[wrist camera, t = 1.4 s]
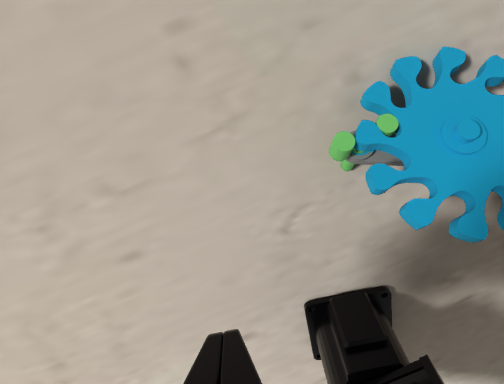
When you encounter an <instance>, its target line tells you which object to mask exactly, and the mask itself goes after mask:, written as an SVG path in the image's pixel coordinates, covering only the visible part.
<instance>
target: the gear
mask: <svg viewBox="0 0 504 384" xmlns="http://www.w3.org/2000/svg"><path fill="white" fill-rule="evenodd" d="M465 59H466V54H465V52H464V51H462V50H459V49H456V48H451V47H442V48H441V50H440V51H439V53H438V54H437V56H436V57H435V59H434V60H433V68H434V71H435V82H434V85H433V88H431V89H425V88H422V87H420V86H419V85H418V84H417V82H416V77H417V75H418V73H419V71H420V70H421V66H422V64H421V61H420V59H419V58H418V57H414V56H411V57H405V58H401V59H398V60H396V61H395V63H394V65H393V67H392V69H391V72H390V75H391V78H392V79H393V80H394V81H395V82H396V83H397V84H398V85H399V86H400V88H401V89H402V91H403V93H404V96H405V103H406V108H399V107H396V106H395V105H393V103H392V102H391V95H390V89H389V87H388V86H387V85H386V84H385V83H384V82H381V81H378V82H376V83H374V84H373V85H372V86H370V87H369V88H368V89H367V90H366V92H365V93H364V94H363V97H362V99H361V101H360V103H361V105H362V107H363V108H364V109H366V110H368V111H371V112H374V113H376V114H378V115H380V117H379V118H378V119H377V121H376V123H374V122H372V121H369V120H362V121H361V123H360V124H359V126H358V128H357V130H356V131H353V132H350V133H349V132H345V131H343V132H339V133H337V134H336V135H335V137H334V139H333V142H332V144H331V147H330V150H329V153H330V156H331V157H332V158H333V159H334V160H336V161H342V163H341V168H342V169H343V170H345V171H350V170H351V169H352V168H353V166H354V165H355V164H368V165H372V166H371V167H370V168H369V169H368V171H367V172H366V181H367V184H368V187H369V189H370V192H371V194H375V195H379V194H383V193H385V192H386V191H387V190H388V189H389V188H391V187H393V186H395V185H397V184H401V183H422V184H424V185H425V186H426V187H427V188H428V189H429V191H430V197H429V199H420V198H418V199H412V200H411V201H409V202H408V203H406V204H405V205H403V206H402V207H401V209H400V211H399V214H400V215H401V217H402V218H403V219H404V220H405V221H406V222H407V223H408V224H409V225H410V226H411V227H413V228H414V229H415V230H418V229H421V228H423V227H425V226H427V225H429V224H430V223H431V222H432V221H433V219H434V216H435V212H436V210H437V208H438V206H439V205H440V203H441V202H442V201H443V200H444V199H446V198H447V197H449V196H458V197H460V198H461V199H462V200H463V201H464V202H465V204H466V211H465V213H464V214H463V215H461V216H459V217H458V218H456V219H454V220H453V221H452V222H451V223H450V225H449V233H450V235H452V236H453V237H455V238H457V239H460V240H463V241H468V242H473V243H474V242H478V241H482V240H484V239H485V238H486V237H487V235H488V231H489V230H488V225H487V223H486V219H485V210H484V208H485V203H486V200H487V197H488V195H489V193H490V191H493V192H495V193H497V194H498V195H499V196H500V197H501V199H502V207H501V209H500V211H499V213H498V217H497V220H498V224H499V226H500V227H501V228H502V229H503V230H504V95H493V94H491V93H489V92H488V91H487V90H486V88H485V86H497V85H499V84H501V83H502V82H503V81H504V59H502V58H500V57H499V56H497V55H494V56H491V57H490V58H489V59H488V60H487V61H486V62H485V63H484V64H483V65H482V66H481V67H480V69H479V70H478V73H477V76H476V79H474V80H472V81H470V82H468V83H466V84H458V83H455V82H454V81H453V80H452V79H451V77H450V75H452V74H454V73H455V72H456V71H457V70H458V68H459V67H460V66H461V65H462V64H463V62H464V61H465ZM394 132H395V133H396V134H393V133H394ZM388 165H395V166H404V167H405V169H404V170H403V171H398V170H395V169H393V168H391V167H390V166H388Z"/></svg>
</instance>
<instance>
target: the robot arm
mask: <svg viewBox="0 0 504 384" xmlns="http://www.w3.org/2000/svg"><path fill="white" fill-rule="evenodd" d="M383 293H384V294H383ZM310 307H312V308H310ZM304 309H305V314H306V320H307V325H308V330H309V335H310V341H311V346H312V351H313V356H314V358H315V359H316V360H322V364H323V368H324V372H325V376H326V379H327V383H328V384H444V382H443V380H442V379H441V377H440V375H439V374H438V372H437V370H436V369H435V367H434V365H433V364H432V362H431V360H430V359H429V357H428V355H425V356H423V357H420V358H419V359H420V360H417V361H415V362H413V363H409V361H408V359H407V357H406V355H405V353H404V351H403V349H402V347H401V345H400V343H399V341H398V339H397V337H396V335H395V333H394V331H393V329H392V311H391V292H390V290H389V289H388V288H387V287H378V288H373V289H368V290H363V291H358V292H352V293H347V294H342V295H337V296H332V297H327V298H322V299H317V300H312V301H308V302H306V303H305V305H304ZM184 384H262V383H261V380H260V378H259V376H258V373H257V371H256V369H255V366H254V364H253V362H252V359H251V357H250V355H249V352H248V350H247V348H246V346H245V343H244V341H243V339H242V336H241V334H240V332H239V330H238V329H234V330H229V331H225V332H224V333H223V332H219V333H214V334H210V335H208V336H207V338H206V340H205V342H204V344H203V346H202V348H201V350H200V352H199V354H198V356H197V358H196V360H195V362H194V364H193V366H192V368H191V370H190V372H189V374H188V376H187V378H186V380H185V382H184Z"/></svg>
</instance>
